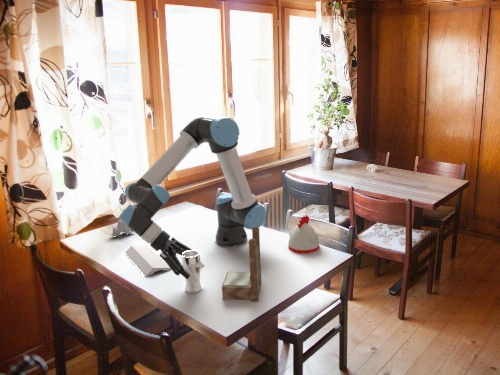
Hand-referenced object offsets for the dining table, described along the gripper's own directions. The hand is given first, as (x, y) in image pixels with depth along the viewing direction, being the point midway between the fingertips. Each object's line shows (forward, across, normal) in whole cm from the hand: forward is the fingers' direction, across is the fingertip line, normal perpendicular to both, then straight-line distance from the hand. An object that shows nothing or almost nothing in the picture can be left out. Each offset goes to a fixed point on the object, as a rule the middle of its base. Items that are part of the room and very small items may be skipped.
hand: (199, 274), depth 180 cm
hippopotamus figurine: (-32, -56, -41) cm, 76 cm away
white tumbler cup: (+3, 0, -6) cm, 7 cm away
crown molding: (-16, -25, -26) cm, 39 cm away
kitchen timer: (+33, -41, +23) cm, 57 cm away
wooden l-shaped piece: (+16, +1, +7) cm, 18 cm away
